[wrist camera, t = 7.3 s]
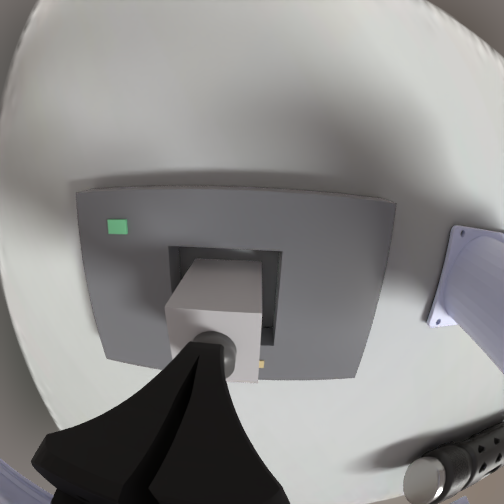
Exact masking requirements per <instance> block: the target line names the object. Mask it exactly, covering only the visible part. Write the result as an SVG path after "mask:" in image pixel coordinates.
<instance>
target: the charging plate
mask: <svg viewBox="0 0 504 504" xmlns="http://www.w3.org/2000/svg"><path fill="white" fill-rule="evenodd" d="M76 200H77V214H78V225H79V235H80V243H81V250H82V257H83V263H84V269H85V275H86V280H87V286H88V291H89V295H90V300H91V304H92V309H93V313H94V317H95V321H96V324H97V328H98V332H99V335H100V339H101V342H102V346H103V349H104V352H105V355H106V358H107V359H110V360H115V361H119V362H124V363H128V364H133V365H138V366H143V367H149V368H154V369H160V370H163V369H164V368H165V367H166V366H167V365H168V364H169V363H170V362H171V361H172V360H173V359H172V354H171V348H170V342H169V335H168V329H167V322H166V315H165V305H166V304H167V302H168V300H169V299H170V297H171V296H172V294H173V293H174V291H175V289H176V288H177V286H178V285H179V283H180V282H181V275H180V256H179V246H184V247H205V248H226V249H246V250H267V251H279V261H278V274H277V286H276V298H275V309H274V320H273V328H264V327H261V342H260V358H259V373H258V380H326V379H344V378H355V375H356V373H357V370H358V367H359V364H360V361H361V358H362V355H363V352H364V349H365V346H366V343H367V339H368V336H369V333H370V330H371V326H372V323H373V319H374V315H375V312H376V308H377V304H378V300H379V296H380V292H381V288H382V283H383V279H384V274H385V270H386V265H387V260H388V254H389V249H390V243H391V237H392V231H393V224H394V217H395V210H396V203H394V202H391V201H388V200H385V199H382V198H376V197H367V196H359V195H350V194H340V193H330V192H319V191H307V190H293V189H278V188H259V187H233V186H139V187H115V188H97V189H90V190H86V191H81V192H77V193H76Z"/></svg>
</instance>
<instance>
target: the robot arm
mask: <svg viewBox="0 0 504 504" xmlns="http://www.w3.org/2000/svg"><path fill="white" fill-rule="evenodd" d="M461 231H462V234H461V235H460V233H461ZM437 320H438V321H437ZM436 321H437V322H436ZM427 325H428V326H429V327H431V328H432V327H441V326H450V325H459V326H460V327H461V328H462V329H463V330H464V331H465V332H466V333H467V334H468V335H469V336H470V337H471V338H472V339H473V340H474V341H475V342H476V343H477V345H478V346H479V347H480V348H481V349H482V350H483V351H484V352H485V353H486V354H487V356H488V357H489V358H490V359H491V360H492V361H493V362H494V363H495V365H496V366H497V367H498V368H499V369H500V370H501V372H502V373H503V374H504V233H501V232H495V231H490V230H484V229H478V228H472V227H466V226H460V225H455V226H453V228H452V229H451V233H450V239H449V244H448V248H447V253H446V258H445V262H444V266H443V270H442V274H441V278H440V281H439V285H438V288H437V292H436V295H435V298H434V302H433V305H432V308H431V311H430V314H429V317H428V320H427ZM31 463H32V465H33V467H34V468H35V469H36V470H37V471H38V472H39V473H40V474H41V475H42V476H43V477H44V478H45V479H46V480H48V481H49V482H50V483H51V484H52V485H53V486H55V487H56V488H57V490H56V492H55V494H54V495H52V494H50V493H49V492H47V491H45V490H44V489H42V488H40V487H39V486H37V485H36V484H34V483H33V482H31V481H30V480H28V479H27V478H25V477H24V476H23V475H21V474H20V473H18V472H17V471H16V470H15V469H13V468H12V467H11V466H9V465H8V464H7V463H5V462H4V461H3V460H2V459H0V504H290V502H289V500H288V498H287V496H286V494H285V492H284V490H283V487H282V486H281V484H280V483H279V482H278V481H277V480H276V478H275V477H274V476H273V475H272V473H271V472H270V471H269V469H268V468H267V467H266V465H265V464H264V462H263V461H262V460H261V458H260V457H259V455H258V454H257V452H256V450H255V449H254V447H253V445H252V443H251V442H250V440H249V438H248V436H247V435H246V433H245V431H244V429H243V427H242V425H241V423H240V420H239V418H238V416H237V413H236V411H235V408H234V406H233V403H232V400H231V397H230V394H229V390H228V386H227V382H226V378H225V362H224V346H223V345H222V344H212V343H202V342H192V341H190V342H188V343H187V344H186V345H185V347H184V348H183V349H182V350H181V351H180V352H179V353H178V354H177V356H176V357H175V358H174V359H173V360H172V361H171V362H170V363H169V364H168V365H167V366H166V367H165V368H164V369H163V370H162V371H161V372H160V373H159V374H158V375H157V376H156V377H155V378H153V379H152V380H151V381H150V382H149V383H148V384H146V385H145V386H144V387H143V388H142V389H141V390H139V391H138V392H137V393H135V394H134V395H133V396H131V397H130V398H128V399H127V400H126V401H124V402H123V403H121V404H119V405H118V406H116V407H114V408H113V409H111V410H109V411H108V412H106V413H104V414H102V415H100V416H98V417H96V418H94V419H91V420H89V421H87V422H85V423H82V424H80V425H77V426H74V427H71V428H68V429H65V430H61V431H58V432H54V433H51V434H47V435H46V437H45V438H44V440H43V441H42V443H41V445H40V446H39V448H38V450H37V451H36V453H35V455H34V457H33V458H32V460H31ZM450 504H469V502H468V500H467V497H466V496H463V497H461V498H460V499H458V500H456V501H454V502H452V503H450Z"/></svg>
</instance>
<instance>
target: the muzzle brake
mask: <svg viewBox="0 0 504 504" xmlns="http://www.w3.org/2000/svg"><path fill="white" fill-rule="evenodd" d="M502 466H504V422H502V423H500V424H497V425H495V426H493V427H491V428H489V429H486V430H484V431H482V432H481V433H480V434H477V435H476V434H475V435H473V436H472V437H471V438H470V439H468V440H466V441H463V442H460V443H458V444H455V443H454V442H450V443H447V444H444V445H441V446H440V447H438V448H437V449H435V450H432V451H429V452H427V453H425V454H424V455H423V456H422V457H421V458H418V459H416V460H415V461H413V462H412V463H411V464H410V466H409V467H408V469H407V471H406V473H405V476H404V481H403V490H404V494H405V497H406V498H407V500H408V501H409V502H410V503H411V504H438V503H440V502H442V501H445V500H446V499H449V498H451V497H453V496H454V495H456V494H457V493H458V492H459V491H462V490H464V489H466V488H468V487H469V486H471V485H473V484H475V483H476V482H478V481H479V480H481V479H483V478H484V477H486V476H488V475H489V474H491V473H493V472H495V471H496V470H498V469H499V468H501V467H502Z"/></svg>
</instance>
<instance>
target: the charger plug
mask: <svg viewBox="0 0 504 504" xmlns="http://www.w3.org/2000/svg"><path fill="white" fill-rule="evenodd" d="M165 315H166V322H167V329H168V335H169V342H170V348H171V354H172V359H174V358H175V357H176V356H177V354H178V353H179V352H180V351H181V350H182V349H183V348H184V347H185V345H186V344H187V343H188V342H190V341H192V342H202V343H212V344H222V345H223V346H224V362H225V378H226V382H241V383H258V373H259V358H260V342H261V326H262V261H244V260H221V259H199V258H196V259H195V260H194V262H193V263H192V265H191V266H190V268H189V269H188V271H187V272H186V274H185V275H184V277H183V279H182V280H181V282H180V283H179V285H178V286H177V288H176V289H175V291H174V293H173V294H172V296H171V297H170V299H169V300H168V302H167V304H166V305H165Z"/></svg>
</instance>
